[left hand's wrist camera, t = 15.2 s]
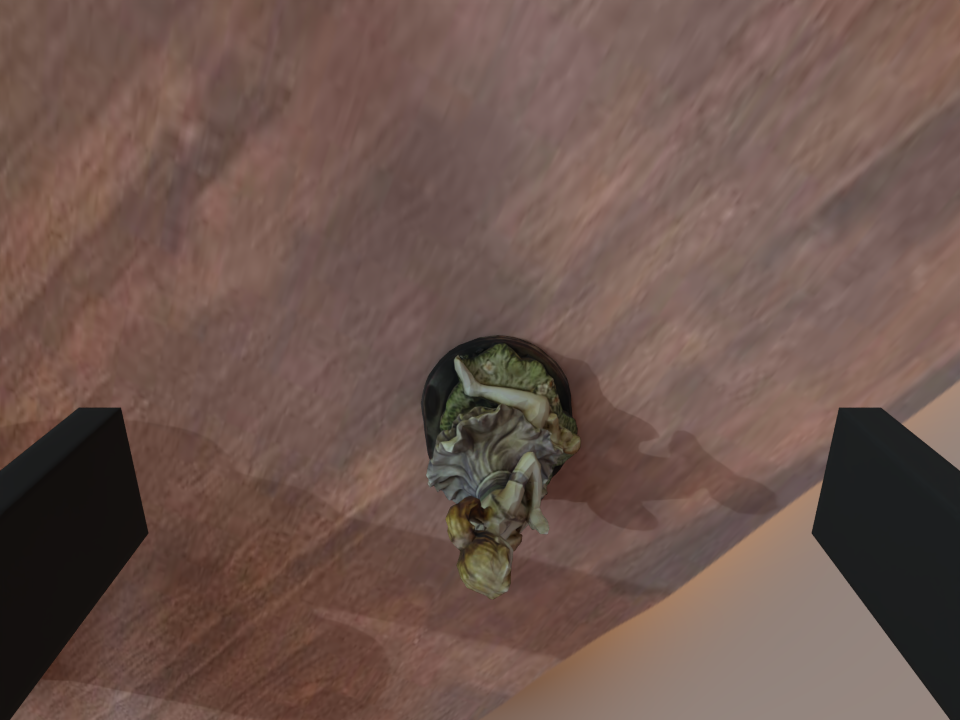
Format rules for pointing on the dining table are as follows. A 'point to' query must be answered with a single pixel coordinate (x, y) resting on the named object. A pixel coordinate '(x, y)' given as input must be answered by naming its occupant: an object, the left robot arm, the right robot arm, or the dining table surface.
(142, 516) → the left robot arm
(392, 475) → the dining table surface
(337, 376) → the dining table surface
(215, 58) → the dining table surface
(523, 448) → the figurine
